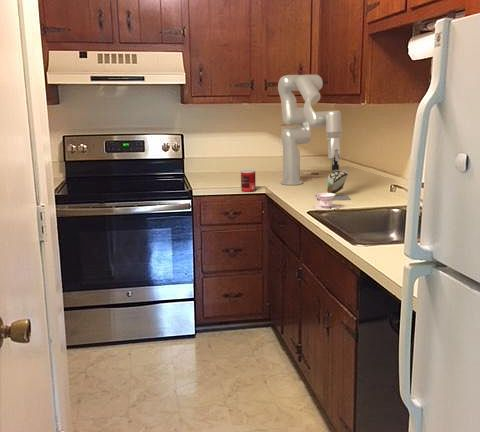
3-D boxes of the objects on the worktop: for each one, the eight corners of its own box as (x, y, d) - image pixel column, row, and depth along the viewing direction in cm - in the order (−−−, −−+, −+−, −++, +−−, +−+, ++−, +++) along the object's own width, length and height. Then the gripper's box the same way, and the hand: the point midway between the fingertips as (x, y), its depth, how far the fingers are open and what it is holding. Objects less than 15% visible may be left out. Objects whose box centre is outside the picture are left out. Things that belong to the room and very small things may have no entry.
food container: (334, 181, 277) (338, 165, 270) (344, 187, 274) (348, 171, 267) (319, 191, 270) (323, 175, 263) (329, 197, 267) (333, 181, 260)
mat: (315, 195, 271) (315, 195, 271) (347, 195, 270) (347, 194, 270) (317, 200, 260) (317, 199, 259) (351, 200, 259) (351, 199, 259)
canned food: (255, 189, 292) (254, 169, 290) (256, 192, 285) (255, 171, 282) (241, 189, 292) (240, 169, 290) (241, 192, 284) (241, 171, 282)
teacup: (337, 205, 249) (337, 191, 248) (341, 210, 238) (341, 196, 236) (311, 205, 250) (311, 192, 248) (314, 211, 238) (314, 197, 237)
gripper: (324, 136, 275) (326, 172, 278) (328, 136, 261) (330, 174, 263) (339, 135, 275) (340, 171, 278) (344, 135, 260) (345, 173, 263)
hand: (335, 172), depth 270 cm, fingers closed
